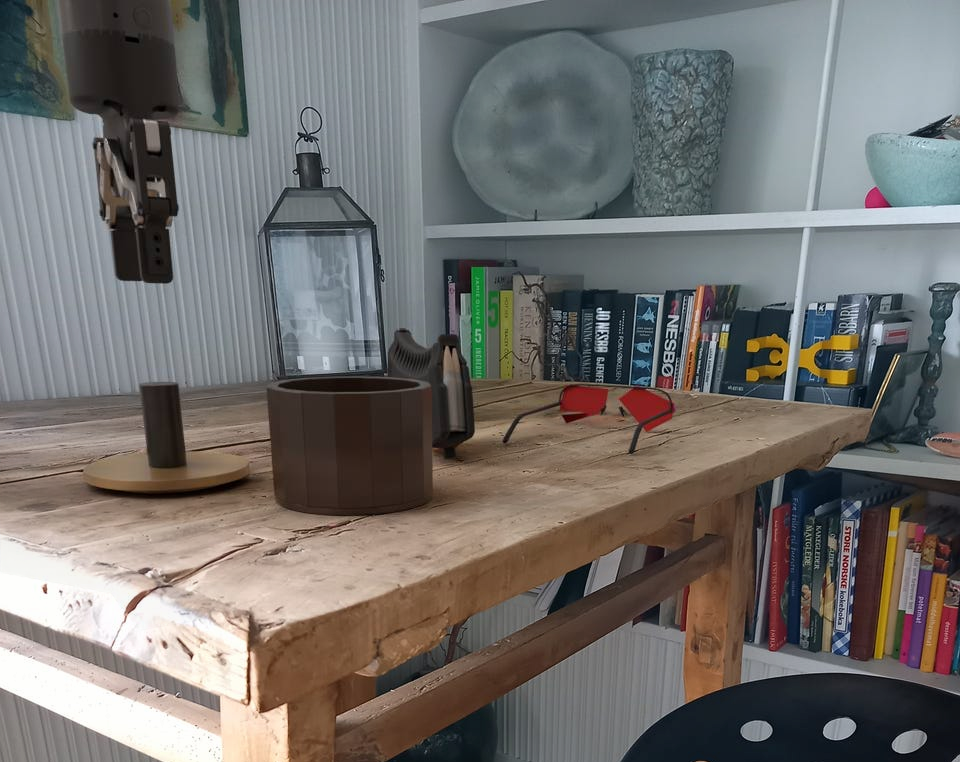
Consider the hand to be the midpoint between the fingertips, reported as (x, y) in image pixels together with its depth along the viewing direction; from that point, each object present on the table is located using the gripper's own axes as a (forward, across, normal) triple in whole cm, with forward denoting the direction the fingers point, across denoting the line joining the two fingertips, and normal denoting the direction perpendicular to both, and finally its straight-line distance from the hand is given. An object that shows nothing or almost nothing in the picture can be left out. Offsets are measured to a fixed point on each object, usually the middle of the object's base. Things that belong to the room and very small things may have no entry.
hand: (143, 282), depth 72 cm
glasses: (+15, 0, +45) cm, 48 cm away
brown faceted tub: (+15, +13, +11) cm, 23 cm away
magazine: (+15, -8, +29) cm, 34 cm away
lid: (+15, 0, 0) cm, 15 cm away
